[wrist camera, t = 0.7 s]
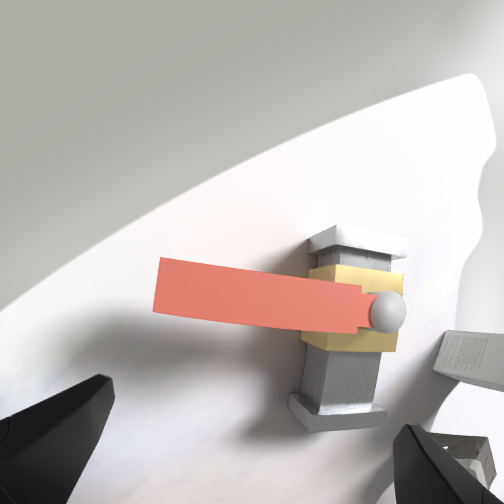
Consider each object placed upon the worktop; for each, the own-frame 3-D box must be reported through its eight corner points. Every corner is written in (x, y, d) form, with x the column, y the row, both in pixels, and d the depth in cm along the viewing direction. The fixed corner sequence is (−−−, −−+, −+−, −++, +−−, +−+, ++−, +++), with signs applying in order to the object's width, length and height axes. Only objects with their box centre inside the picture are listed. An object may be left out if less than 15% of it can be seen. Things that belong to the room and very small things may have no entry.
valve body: (352, 406, 23) (382, 425, 18) (287, 407, 22) (309, 431, 17) (372, 249, 24) (407, 239, 20) (309, 237, 24) (336, 224, 19)
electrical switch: (390, 453, 23) (460, 485, 14) (425, 415, 24) (497, 434, 15) (417, 494, 23) (474, 522, 14) (447, 460, 24) (506, 481, 15)
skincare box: (476, 344, 26) (567, 353, 14) (463, 383, 25) (552, 403, 13) (445, 327, 25) (548, 334, 13) (429, 369, 24) (531, 394, 13)
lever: (389, 293, 19) (447, 291, 13) (384, 331, 18) (442, 340, 13) (171, 264, 16) (161, 251, 11) (165, 309, 16) (152, 317, 11)
